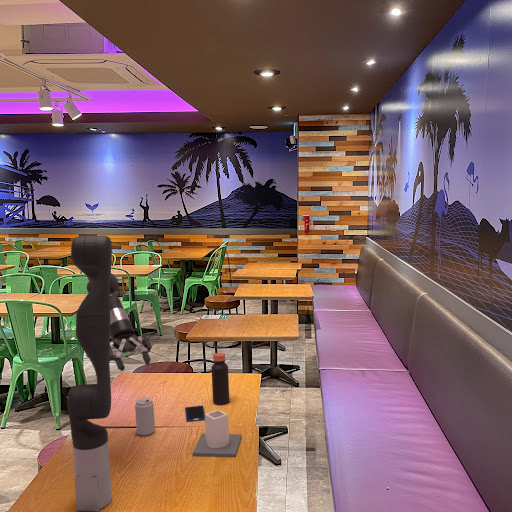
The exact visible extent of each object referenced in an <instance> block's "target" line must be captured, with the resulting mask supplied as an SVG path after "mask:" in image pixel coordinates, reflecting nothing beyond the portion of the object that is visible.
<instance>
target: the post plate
mask: <svg viewBox="0 0 512 512" xmlns="http://www.w3.org/2000/svg"><path fill="white" fill-rule="evenodd" d="M242 436H243V435H242V434H239V433H238V434H235V433H229V444H226V445H223V446H221V447H218V448H216V449H215V448H214V447H212V446H210V445H209V444H207V443H206V433H201V434H200V437H199V439H198V441H197V443H196V445H195V446H194V449H193V451H192V452H191V453H192V457H217V458H219V457H220V458H221V457H223V458H224V457H225V458H227V457H228V458H236V455H237V452H238V450H239V446H240V444H239V443H241V441H242ZM240 440H241V441H240Z"/></svg>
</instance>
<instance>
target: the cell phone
mask: <svg viewBox="0 0 512 512" xmlns="http://www.w3.org/2000/svg"><path fill="white" fill-rule="evenodd" d="M184 411H185V419H186V423H193V422H201V421H202V422H203V421H205V414H206V413H205V408H204V405H194V406H186V407H184Z"/></svg>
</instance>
